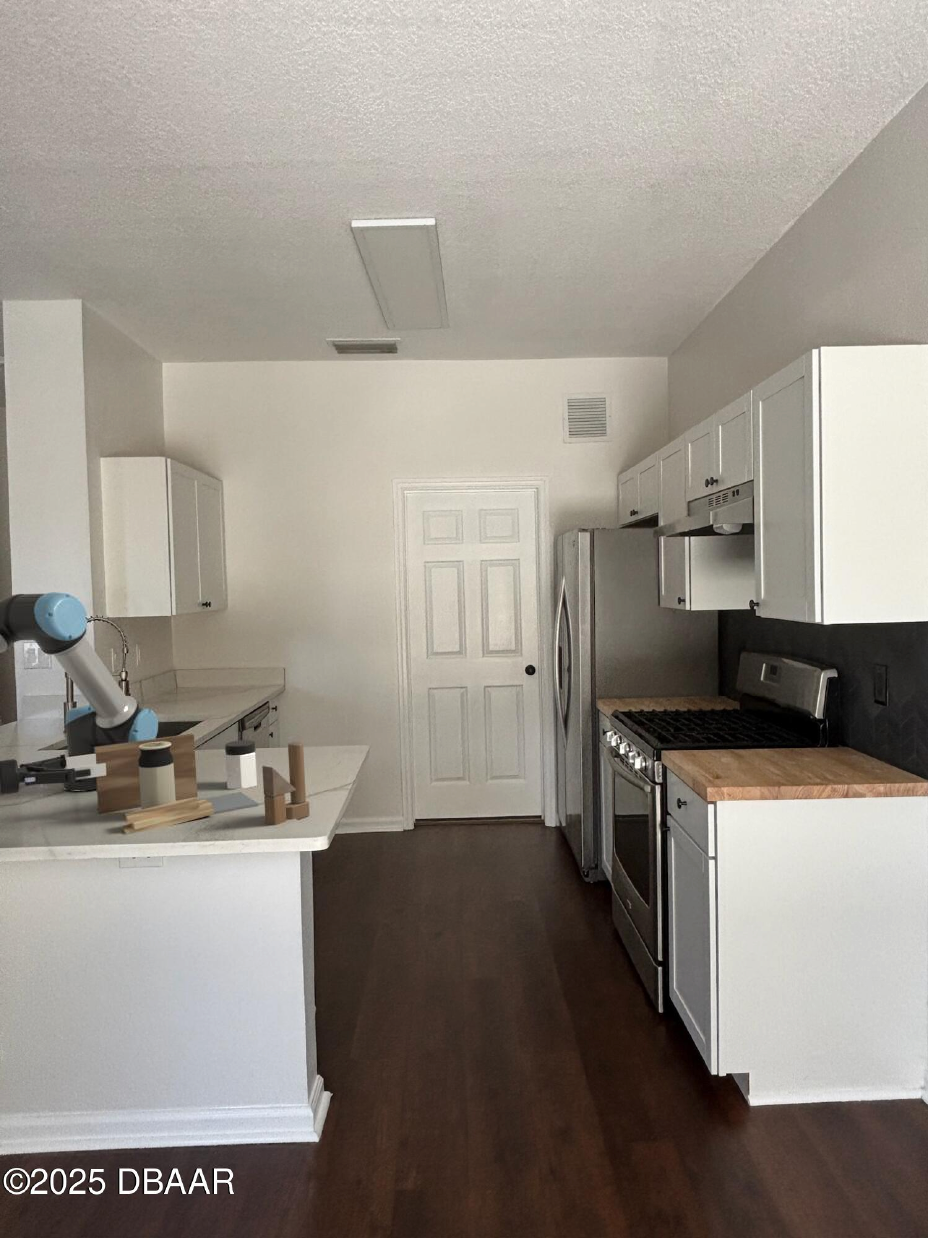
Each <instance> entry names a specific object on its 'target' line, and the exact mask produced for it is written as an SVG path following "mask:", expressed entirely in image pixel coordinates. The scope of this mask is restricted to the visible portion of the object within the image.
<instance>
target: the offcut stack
mask: <svg viewBox="0 0 928 1238" xmlns="http://www.w3.org/2000/svg"><path fill="white" fill-rule="evenodd" d="M198 800H199V799H197V797H194V798H189V799H184V800H178V801H176V802H173V803H168V804H164V805H160V806H155V807H151V808H147V809H143V810H141V809H139V810H135V811H131V812H126V813H124V817H125V818H124V819H125V821H126V822H127V824H125V825H121V830H122V831H123V832H124V834H125V835H128V834H130V835H131V834H135V833H140V832H144V831H149V830H155V829H159V828H160V829H161V828H164V827H169V826H173V825H178V824H181V823H185V822H186V823H187V822H188V821H189V822H190V821H193V820H197V819H201V818H204V817H208V816H212V814H213V815H215V814H214V811H213V808H212V803H210V802H208V801H207V800H201V801H198Z"/></svg>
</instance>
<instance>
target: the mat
mask: <svg viewBox="0 0 928 1238" xmlns="http://www.w3.org/2000/svg"><path fill="white" fill-rule="evenodd" d="M197 800H198V801H201V800H207V801H208V802H210V803H212V808H213V811H214V814H212V815H218V814H223V813H228V812H233V811H239V810H243V809H244V810H245V809H248V808H254V807H259V803H258V802H257V801H255V800H254V799H253V798H251V797H249V796H248V795H246V794H245V793H243V792H242V791H239V792H233V793H228V794H221V795H217V796H211V797H206V798H200V799H197ZM212 815H211V816H212Z"/></svg>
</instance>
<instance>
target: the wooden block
mask: <svg viewBox="0 0 928 1238" xmlns="http://www.w3.org/2000/svg"><path fill="white" fill-rule="evenodd" d="M287 751H288V752H287V754H288V755H287V756H288V770H289V771H288V773H289V781H288V780H287V779H286V778H285V777H283V775H281V774H280V773H279V772H278V771H277V770H276V769H274V767H272V766H266V765H262V769H261V770H262V785H263V788H262V789H263V796H264V798H263V799H264V801H263V802H264V817H265V818H264V820H265V824H267V825H272V826H277V825H280V824H283V823H286V822H287V821H289V820H290V821H291V820H297V821H298V820H301V819H303V818H306V817H309V816H310V811H311V810H310V801H309V800H308V801H307V796H306V791H307V790H306V773H305V755H304V754H305V753H304V751H305V750H304V742H302V741H293V742H289V743H288V745H287ZM289 793H290V802H288V803H286V795H287V794H289Z"/></svg>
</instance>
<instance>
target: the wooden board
mask: <svg viewBox="0 0 928 1238" xmlns="http://www.w3.org/2000/svg"><path fill="white" fill-rule="evenodd" d="M161 741H164V742H170V743H171V745H170V752H171V754H172V755H173V765H174V782H175V799H176V802H177V801H181V800H186V799H190V798H194V797H195V798H198V784H197V768H196V767H197V766H196V765H197V763H196V748H195V734H194V733H187V734H186V733H185V734H180V735H173V736H172V735H171V736H163V737H159V738H158V737H156V738H155V739H149V740H142V741H134V742H127V743H120V744H112V745H105V746H98V747H94V752H95V754H96V764H102V763H105V764H106V775H105V776H98V777H96V783H97V790H96V793H97V794H96V796H97V807H96V813H97V812H98V813H99V814H98V815H103V814H110V813H115V812H120V811H121V812H122V811H126V810H133V809H137V808H141V795H140V779H139V762H138V759H139V757H140V755H141V751H140V749H139V746H140V745H142V744H145V743H150V742H161Z"/></svg>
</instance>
